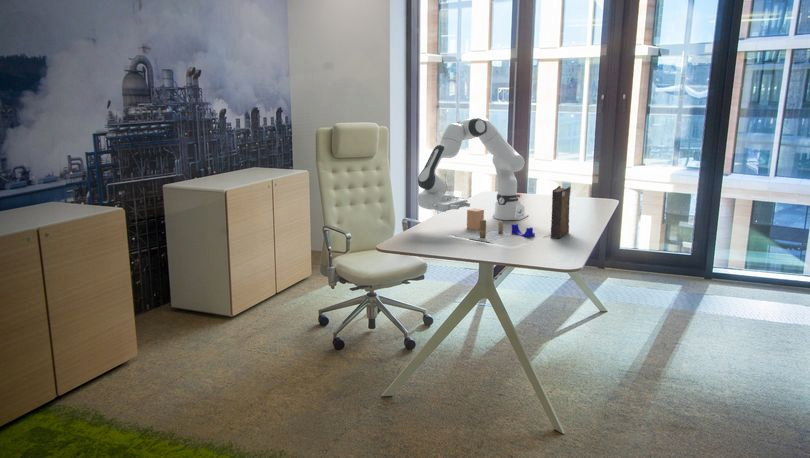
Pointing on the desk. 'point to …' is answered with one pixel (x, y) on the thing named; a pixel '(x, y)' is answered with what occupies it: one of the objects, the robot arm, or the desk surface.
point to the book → (560, 212)
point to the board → (492, 234)
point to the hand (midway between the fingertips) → (463, 206)
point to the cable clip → (516, 231)
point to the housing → (474, 218)
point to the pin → (482, 229)
